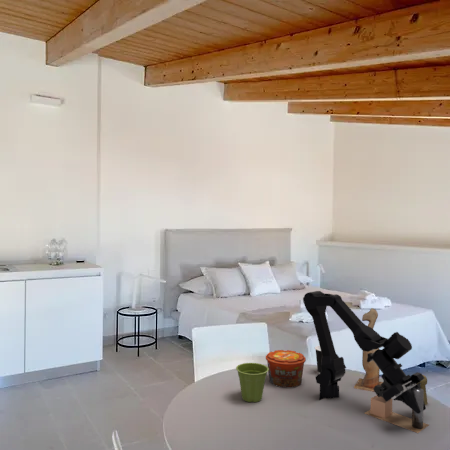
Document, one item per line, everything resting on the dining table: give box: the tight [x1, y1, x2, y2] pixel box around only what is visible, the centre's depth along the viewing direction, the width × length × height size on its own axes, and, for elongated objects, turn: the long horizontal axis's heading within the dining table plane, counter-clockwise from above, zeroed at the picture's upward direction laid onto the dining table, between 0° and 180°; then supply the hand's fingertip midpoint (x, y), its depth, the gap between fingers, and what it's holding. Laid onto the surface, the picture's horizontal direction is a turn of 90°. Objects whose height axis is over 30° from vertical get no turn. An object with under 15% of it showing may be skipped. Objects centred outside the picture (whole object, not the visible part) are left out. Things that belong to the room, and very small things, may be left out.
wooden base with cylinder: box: [363, 388, 430, 434], centre depth 143 cm, size 18×8×13 cm, turn 42°
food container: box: [265, 349, 307, 388], centre depth 178 cm, size 16×16×11 cm
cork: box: [419, 374, 428, 406], centre depth 156 cm, size 6×6×11 cm
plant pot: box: [235, 362, 269, 403], centre depth 161 cm, size 12×12×11 cm
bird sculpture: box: [353, 307, 383, 393], centre depth 170 cm, size 11×12×32 cm
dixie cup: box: [314, 345, 322, 375], centre depth 187 cm, size 8×8×11 cm
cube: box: [370, 394, 393, 418], centre depth 147 cm, size 5×5×5 cm
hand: (422, 411), depth 137 cm, fingers closed on wooden base with cylinder, 3 cm apart
